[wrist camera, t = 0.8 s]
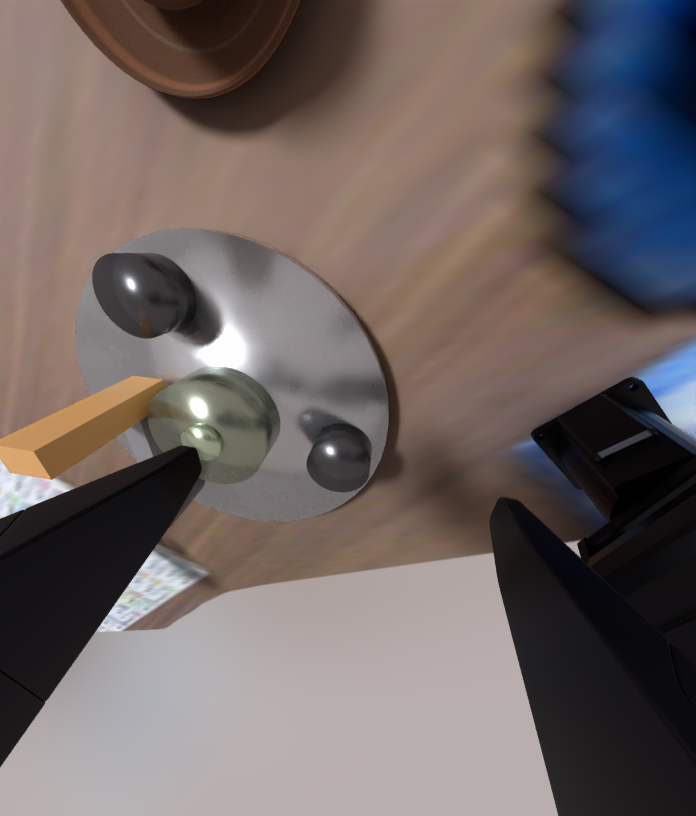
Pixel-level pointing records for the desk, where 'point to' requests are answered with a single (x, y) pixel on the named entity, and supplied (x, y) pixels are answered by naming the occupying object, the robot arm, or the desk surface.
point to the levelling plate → (240, 368)
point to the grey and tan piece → (88, 432)
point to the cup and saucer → (186, 40)
